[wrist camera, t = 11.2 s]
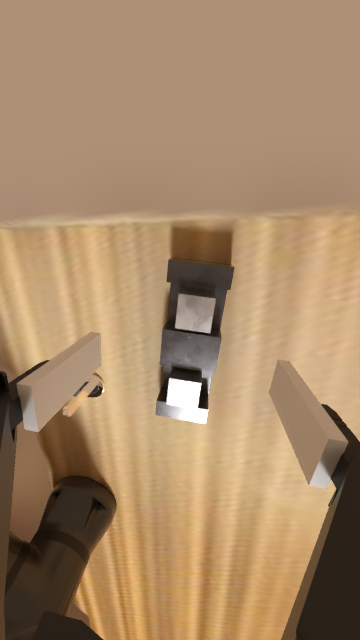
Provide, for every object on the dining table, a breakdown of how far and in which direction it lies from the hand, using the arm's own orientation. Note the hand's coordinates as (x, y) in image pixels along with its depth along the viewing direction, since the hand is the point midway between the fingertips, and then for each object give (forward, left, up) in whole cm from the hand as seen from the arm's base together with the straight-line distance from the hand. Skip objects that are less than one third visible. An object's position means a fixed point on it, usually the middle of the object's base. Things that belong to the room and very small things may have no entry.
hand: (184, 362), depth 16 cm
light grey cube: (0, -12, -16) cm, 20 cm away
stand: (-19, -18, -17) cm, 31 cm away
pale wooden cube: (0, 0, -16) cm, 16 cm away
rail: (0, -6, -17) cm, 18 cm away
